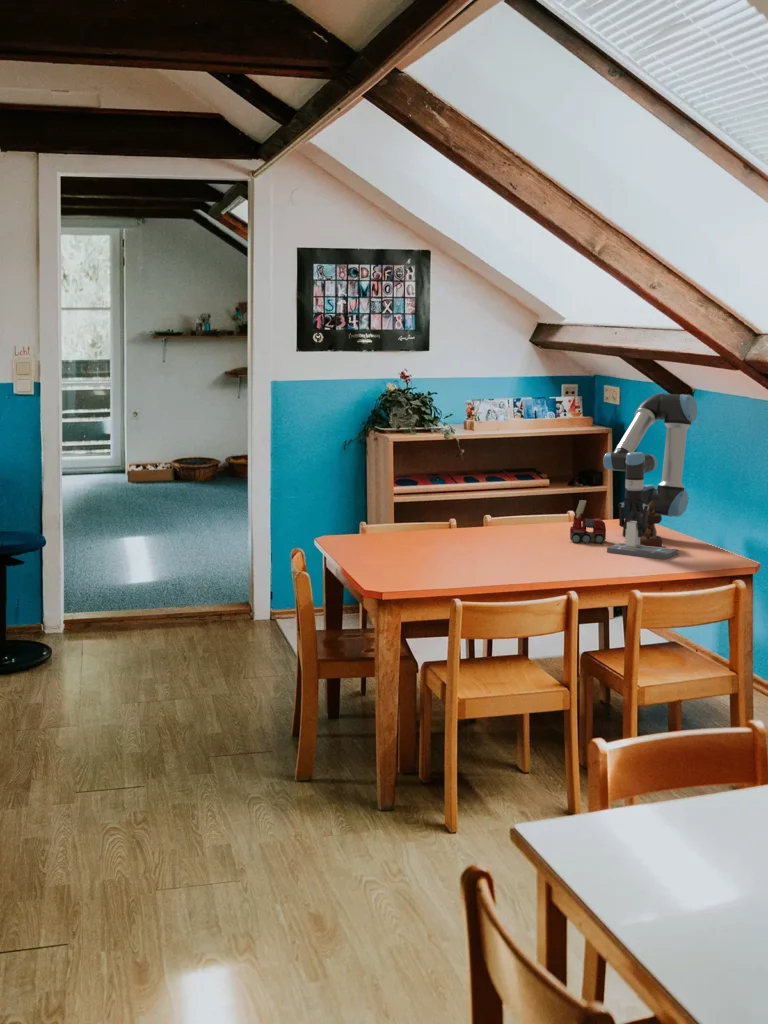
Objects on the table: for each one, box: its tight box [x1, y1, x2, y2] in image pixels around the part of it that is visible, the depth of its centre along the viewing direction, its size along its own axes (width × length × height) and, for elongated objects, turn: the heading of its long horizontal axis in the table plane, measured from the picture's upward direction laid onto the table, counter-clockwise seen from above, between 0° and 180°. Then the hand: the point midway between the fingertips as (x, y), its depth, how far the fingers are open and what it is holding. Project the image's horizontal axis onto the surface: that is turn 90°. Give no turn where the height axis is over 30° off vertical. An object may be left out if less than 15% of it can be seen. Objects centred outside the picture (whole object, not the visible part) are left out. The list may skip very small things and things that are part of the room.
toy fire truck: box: [569, 499, 607, 545], centre depth 493 cm, size 11×16×18 cm
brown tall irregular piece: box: [640, 501, 663, 548], centre depth 481 cm, size 15×11×20 cm
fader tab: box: [624, 521, 641, 548], centre depth 468 cm, size 5×5×11 cm
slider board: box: [606, 542, 679, 560], centre depth 467 cm, size 13×26×3 cm, turn 53°
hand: (632, 544), depth 469 cm, fingers closed on fader tab, 4 cm apart
